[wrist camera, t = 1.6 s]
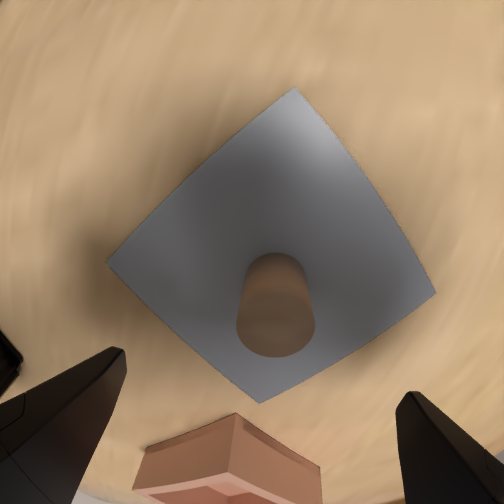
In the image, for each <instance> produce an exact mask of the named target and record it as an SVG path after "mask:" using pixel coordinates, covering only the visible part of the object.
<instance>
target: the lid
mask: <svg viewBox="0 0 504 504" xmlns="http://www.w3.org/2000/svg"><path fill="white" fill-rule="evenodd" d="M106 264H107V265H108V266H109V267H110V268H111V269H112V270H113V271H114V272H115V273H116V274H117V275H118V277H119V278H120V279H121V280H122V281H123V282H124V283H125V284H126V285H127V286H128V287H129V288H130V289H131V290H132V291H133V292H134V293H135V294H136V295H137V296H138V297H139V298H140V299H141V300H142V301H143V302H144V303H145V304H146V305H147V306H148V307H149V308H150V309H151V310H152V311H153V312H154V313H155V314H156V315H157V316H158V317H159V318H160V319H161V320H162V321H163V322H164V323H165V324H166V325H167V326H168V327H169V328H170V329H172V330H173V331H174V332H175V333H176V334H177V335H178V336H179V337H180V338H181V339H182V340H183V341H185V342H186V343H187V344H188V345H189V346H190V347H191V348H192V349H193V350H195V351H196V352H197V353H198V354H199V355H200V356H201V357H203V358H204V359H205V360H206V361H207V362H208V363H209V364H211V365H212V366H213V367H214V368H215V369H217V370H218V371H219V372H220V373H221V374H222V375H224V376H225V377H226V378H227V379H229V380H230V381H231V382H232V383H233V384H235V385H236V386H237V387H238V388H240V389H241V390H242V391H243V392H245V393H246V394H247V395H249V396H250V397H251V398H252V399H254V400H255V401H256V402H258V403H259V404H260V403H262V402H264V401H266V400H268V399H270V398H272V397H274V396H276V395H278V394H280V393H282V392H284V391H286V390H288V389H290V388H292V387H293V386H295V385H297V384H299V383H301V382H303V381H304V380H306V379H308V378H310V377H312V376H313V375H315V374H317V373H319V372H321V371H322V370H324V369H326V368H327V367H329V366H331V365H332V364H334V363H336V362H338V361H339V360H341V359H342V358H344V357H346V356H347V355H349V354H351V353H352V352H354V351H355V350H357V349H358V348H360V347H362V346H363V345H365V344H366V343H368V342H369V341H371V340H372V339H374V338H375V337H377V336H378V335H380V334H381V333H383V332H384V331H386V330H387V329H388V328H390V327H391V326H393V325H394V324H396V323H397V322H398V321H400V320H401V319H403V318H404V317H405V316H407V315H408V314H409V313H411V312H412V311H414V310H415V309H416V308H418V307H419V306H420V305H421V304H423V303H424V302H425V301H427V300H428V299H429V298H431V297H432V296H433V295H434V294H436V291H435V289H434V287H433V285H432V283H431V281H430V280H429V278H428V276H427V274H426V272H425V270H424V268H423V267H422V265H421V263H420V261H419V259H418V258H417V256H416V254H415V252H414V251H413V249H412V247H411V245H410V244H409V242H408V240H407V239H406V237H405V235H404V234H403V232H402V230H401V229H400V227H399V225H398V224H397V222H396V221H395V219H394V217H393V216H392V214H391V213H390V211H389V209H388V208H387V206H386V205H385V203H384V202H383V200H382V199H381V197H380V196H379V194H378V193H377V191H376V190H375V188H374V187H373V185H372V184H371V183H370V181H369V180H368V178H367V177H366V175H365V174H364V173H363V171H362V170H361V168H360V167H359V166H358V164H357V163H356V162H355V160H354V159H353V158H352V156H351V155H350V153H349V152H348V151H347V150H346V148H345V147H344V146H343V144H342V143H341V142H340V140H339V139H338V138H337V137H336V135H335V134H334V133H333V132H332V130H331V129H330V128H329V127H328V125H327V124H326V123H325V122H324V120H323V119H322V118H321V117H320V116H319V114H318V113H317V112H316V111H315V110H314V108H313V107H312V106H311V105H310V104H309V103H308V101H307V100H306V99H305V98H304V97H303V96H302V95H301V93H300V92H299V91H298V90H297V89H296V88H295V87H294V88H293V89H291V90H290V91H289V92H287V93H286V94H285V95H283V96H282V97H281V98H280V99H278V100H277V101H276V102H274V103H273V104H272V105H271V106H269V107H268V108H267V109H266V110H264V111H263V112H262V113H261V114H259V115H258V116H257V117H256V118H255V119H253V120H252V121H251V122H250V123H248V124H247V125H246V126H245V127H244V128H243V129H241V130H240V131H239V132H238V133H237V134H235V135H234V136H233V137H232V138H231V139H230V140H229V141H227V142H226V143H225V144H224V145H223V146H222V147H221V148H219V149H218V150H217V151H216V152H215V153H214V154H213V155H212V156H210V157H209V158H208V159H207V160H206V161H205V162H204V163H203V164H202V165H201V166H199V167H198V168H197V169H196V170H195V171H194V172H193V173H192V174H191V175H190V176H189V177H188V178H187V179H186V180H185V181H183V182H182V183H181V184H180V185H179V186H178V187H177V188H176V189H175V190H174V191H173V192H172V193H171V194H170V195H169V196H168V197H167V198H166V199H165V200H164V201H163V202H162V203H161V204H160V205H159V206H158V207H157V208H156V209H155V210H154V211H153V212H152V213H151V214H150V215H149V216H148V217H147V218H146V219H145V220H144V221H143V222H142V223H141V224H140V225H139V227H138V228H137V229H136V230H135V231H134V232H133V233H132V234H131V235H130V236H129V237H128V238H127V239H126V240H125V242H124V243H123V244H122V245H121V246H120V247H119V248H118V249H117V250H116V251H115V252H114V254H113V255H112V256H111V257H110V258H109V259H108V260H107V261H106Z"/></svg>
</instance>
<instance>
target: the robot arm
mask: <svg viewBox="0 0 504 504" xmlns="http://www.w3.org/2000/svg"><path fill="white" fill-rule="evenodd" d="M22 362H23V360H22V357H21V356H20V355H19V354H18V353H17V352H16V350H15V349H14V348H13V347H12V346H11V345H10V344H9V342H8V341H7V340H6V339H5V338H4V336H3V335H2V334H1V333H0V399H1V397H2V396H3V395H4V394H5V392H6V391H7V390H8V389H9V388H10V386H11V385H12V384H13V383H14V381H15V380H16V378H17V377H18V376H19V372H18V371H17V369H18V368H19V366H20V365H21V363H22ZM126 373H127V365H126V356H125V351H124V350H123V349H120V348H117V347H114V346H112V347H109V348H107V349H105V350H104V351H102V352H100V353H98V354H96V355H94V356H92V357H90V358H89V359H87V360H85V361H83V362H81V363H79V364H77V365H75V366H74V367H72V368H70V369H68V370H66V371H64V372H62V373H60V374H58V375H57V376H55V377H53V378H51V379H49V380H47V381H45V382H43V383H41V384H39V385H37V386H35V387H34V388H32V389H30V390H28V391H26V393H25V392H24V393H22V394H20V395H18V396H16V397H14V398H12V399H10V400H8V401H6V402H3V403H1V404H0V504H71V503H72V500H73V498H74V496H75V493H76V491H77V489H78V487H79V484H80V482H81V480H82V478H83V475H84V473H85V471H86V469H87V467H88V464H89V462H90V460H91V458H92V456H93V454H94V451H95V449H96V447H97V445H98V443H99V441H100V439H101V437H102V435H103V432H104V430H105V428H106V426H107V424H108V422H109V420H110V418H111V416H112V413H113V411H114V408H115V405H116V402H117V399H118V396H119V393H120V391H121V388H122V385H123V382H124V379H125V377H126ZM395 415H396V427H397V441H398V453H399V459H400V466H401V472H402V479H403V487H404V494H405V503H406V504H504V464H502V463H501V462H500V461H499V460H497V459H496V458H495V457H494V456H493V455H491V454H490V453H489V452H488V451H487V450H486V449H484V448H483V447H482V446H481V445H480V444H479V443H478V442H477V441H475V440H474V439H473V438H472V437H471V436H470V435H469V434H467V433H466V432H465V431H464V430H463V429H462V428H461V427H459V426H458V425H457V424H456V423H455V422H454V421H452V420H451V419H450V418H449V417H448V416H447V415H446V414H444V413H443V412H442V411H441V410H440V409H439V408H438V407H436V406H435V405H434V404H433V403H432V402H431V401H429V400H428V399H427V398H426V397H425V396H424V395H423V394H421V393H420V392H418V391H409V392H407V393H406V394H405V396H404V397H403V399H402V400H401V402H400V403H399V405H398V406H397V408H396V413H395Z"/></svg>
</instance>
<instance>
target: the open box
mask: <svg viewBox="0 0 504 504" xmlns="http://www.w3.org/2000/svg"><path fill="white" fill-rule="evenodd" d="M132 491H134V492H136V493H138V494H140V495H142V496H143V497H145V498H147V499H149V500H151V501H153V502H155V503H157V504H323V503H322V489H321V475H320V467H318V466H317V465H315V464H313V463H311V462H310V461H308V460H306V459H305V458H303V457H301V456H300V455H298V454H296V453H295V452H293V451H292V450H290V449H288V448H287V447H285V446H284V445H282V444H281V443H279V442H277V441H276V440H274V439H273V438H271V437H270V436H268V435H267V434H265V433H264V432H262V431H261V430H259V429H258V428H257V427H255V426H254V425H252V424H251V423H249V422H248V421H247V420H245V419H244V418H242V417H241V416H240V415H238V414H237V413H235V414H233V415H230V416H228V417H226V418H224V419H221V420H219V421H217V422H214V423H212V424H209V425H207V426H204V427H202V428H199V429H197V430H194V431H192V432H189V433H186V434H184V435H181V436H178V437H176V438H173V439H170V440H167V441H164V442H161V443H158V444H155V445H152V446H149V447H147V449H146V451H145V454H144V457H143V459H142V462H141V465H140V468H139V470H138V473H137V476H136V479H135V482H134V484H133V487H132Z"/></svg>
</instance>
